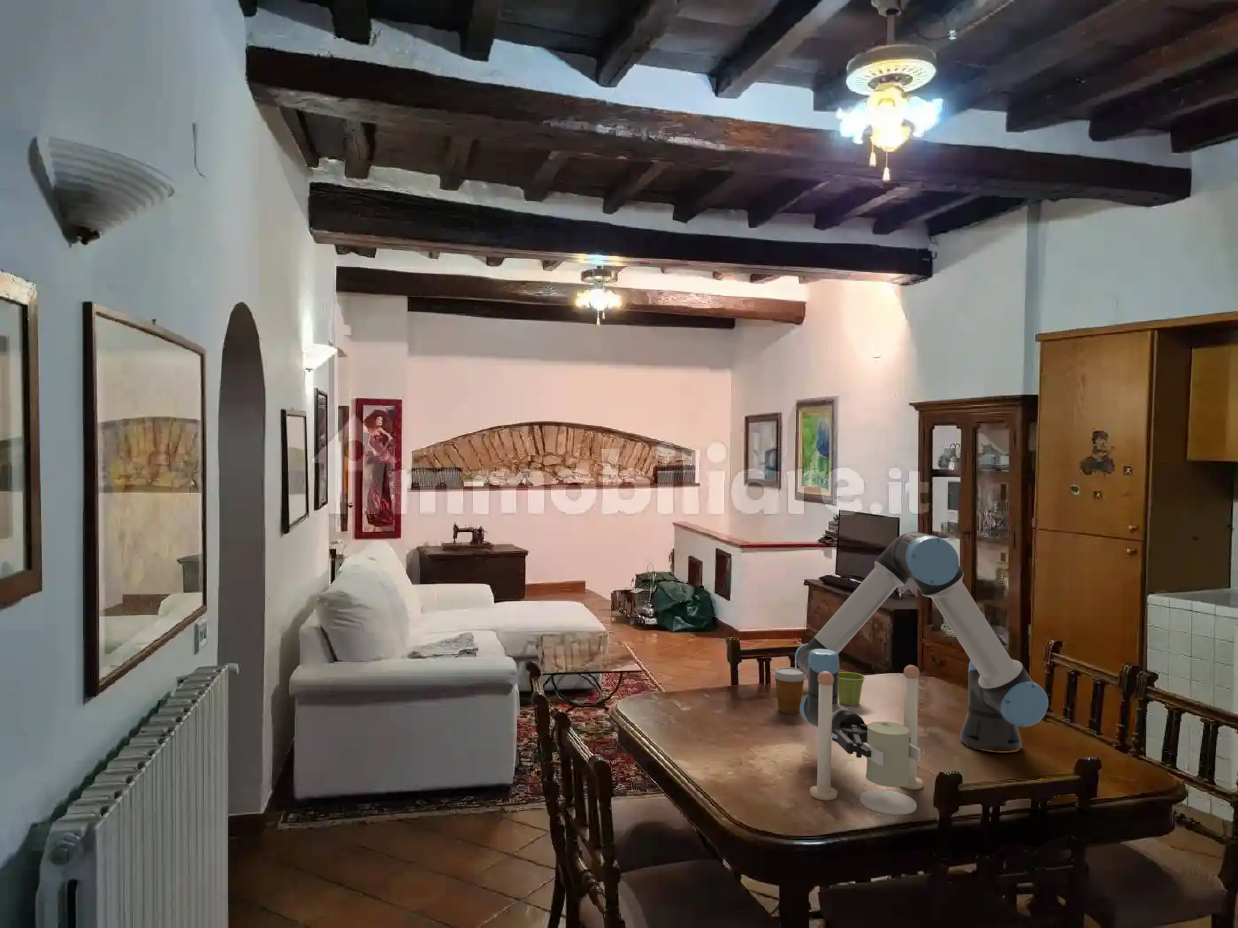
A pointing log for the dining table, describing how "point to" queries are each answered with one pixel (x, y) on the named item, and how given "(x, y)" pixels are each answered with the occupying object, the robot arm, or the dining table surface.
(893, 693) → the dining table surface
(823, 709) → the gate
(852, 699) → the plant pot
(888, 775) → the can
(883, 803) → the coaster
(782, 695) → the disposable coffee cup
